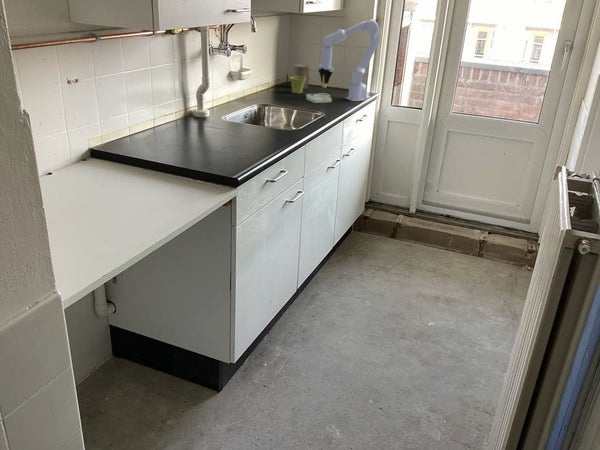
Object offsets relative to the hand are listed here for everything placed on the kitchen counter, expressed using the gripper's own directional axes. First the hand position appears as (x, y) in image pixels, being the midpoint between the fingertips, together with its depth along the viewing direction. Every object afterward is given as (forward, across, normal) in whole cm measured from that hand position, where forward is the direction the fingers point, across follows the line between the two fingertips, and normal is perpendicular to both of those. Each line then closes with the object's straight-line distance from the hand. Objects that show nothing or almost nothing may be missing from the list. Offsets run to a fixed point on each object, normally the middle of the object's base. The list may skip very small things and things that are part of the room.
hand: (324, 82), depth 306 cm
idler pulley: (+8, -1, -7) cm, 11 cm away
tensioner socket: (+8, 0, 0) cm, 8 cm away
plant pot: (+8, -14, -10) cm, 19 cm away
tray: (+8, +8, -8) cm, 14 cm away
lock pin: (+2, 0, 0) cm, 3 cm away
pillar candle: (+8, -27, -1) cm, 28 cm away
